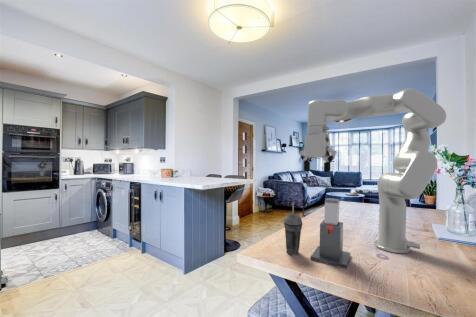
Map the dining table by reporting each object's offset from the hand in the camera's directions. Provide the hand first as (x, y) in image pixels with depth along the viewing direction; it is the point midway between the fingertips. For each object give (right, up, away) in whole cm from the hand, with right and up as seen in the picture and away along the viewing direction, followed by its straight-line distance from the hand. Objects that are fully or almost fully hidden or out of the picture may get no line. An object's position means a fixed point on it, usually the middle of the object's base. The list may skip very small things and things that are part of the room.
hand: (316, 171), depth 97 cm
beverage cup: (-11, -32, -6) cm, 34 cm away
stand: (+2, -32, -10) cm, 33 cm away
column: (+2, -30, -10) cm, 32 cm away
